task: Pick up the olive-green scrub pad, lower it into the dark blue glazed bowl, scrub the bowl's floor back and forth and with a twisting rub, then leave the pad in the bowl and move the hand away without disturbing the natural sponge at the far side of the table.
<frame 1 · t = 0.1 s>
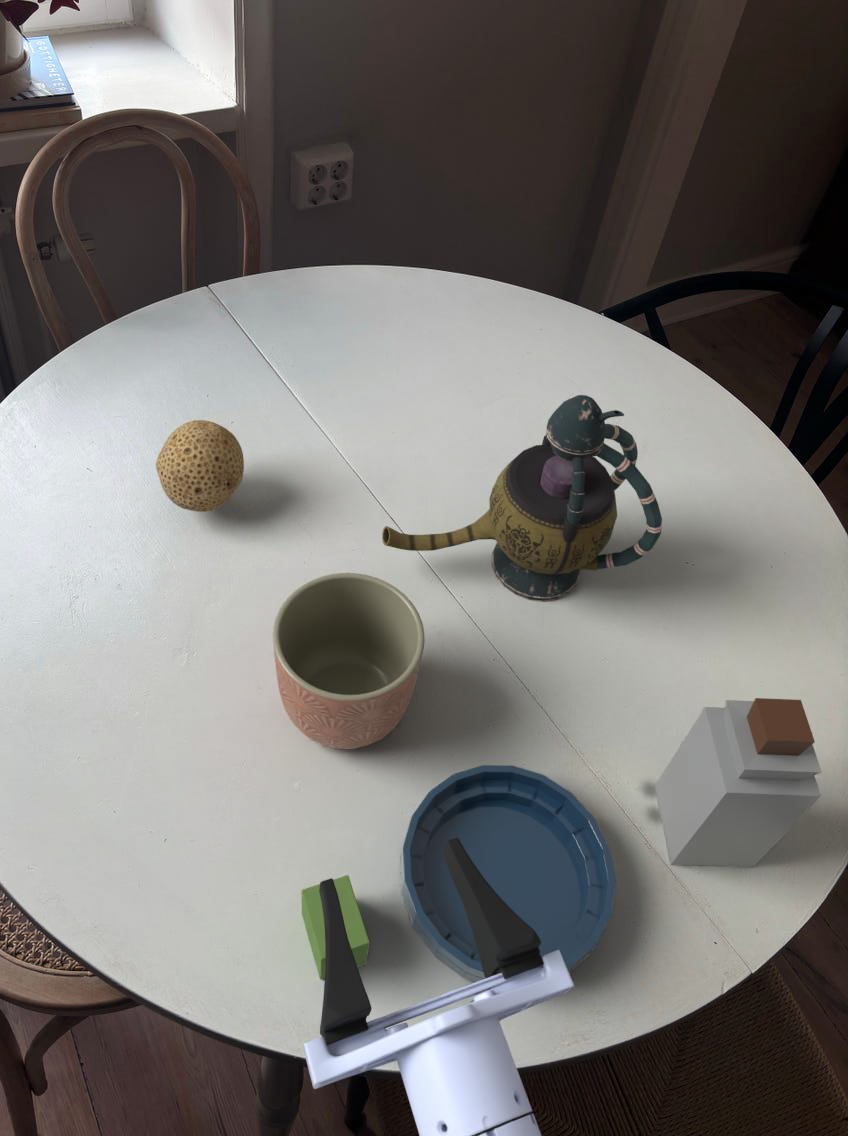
hand: (389, 863, 54), 21 cm above the table, tool horizontal, fingers open, 7 cm apart
bowl: (501, 880, 74), on the table
planter: (344, 701, 84), on the table
natural sponge: (204, 502, 100), on the table
scrub pad: (333, 937, 71), on the table
teapot: (500, 566, 96), on the table
perfume bottle: (701, 826, 78), on the table
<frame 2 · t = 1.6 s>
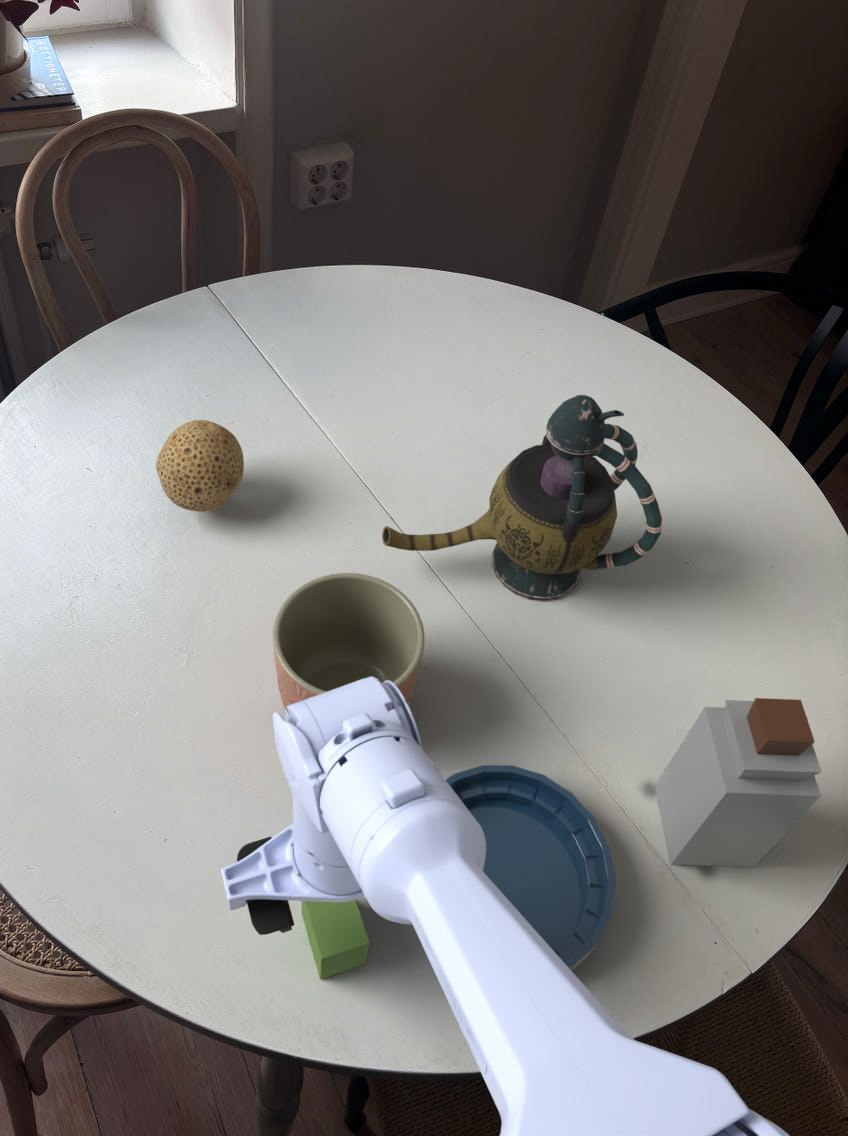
hand: (336, 899, 65), 8 cm above the table, tool pointing down, fingers open, 7 cm apart
nothing on the table moved.
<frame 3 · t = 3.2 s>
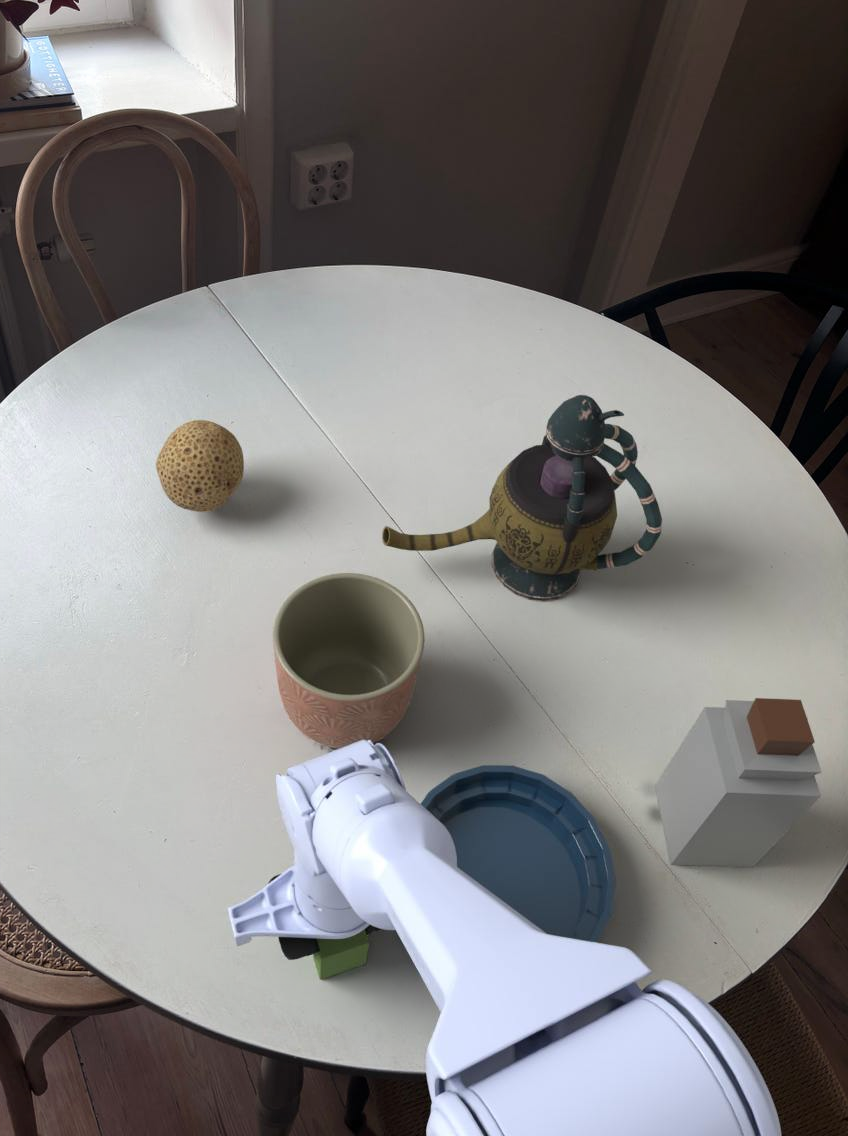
hand: (333, 931, 70), 1 cm above the table, tool pointing down, fingers closed on scrub pad, 3 cm apart
scrub pad: (333, 938, 71), on the table, touching gripper
everything else where it was.
when the fingers open (2 cm above the table, at t = 11.6 s): scrub pad stays where it is, resting on bowl.
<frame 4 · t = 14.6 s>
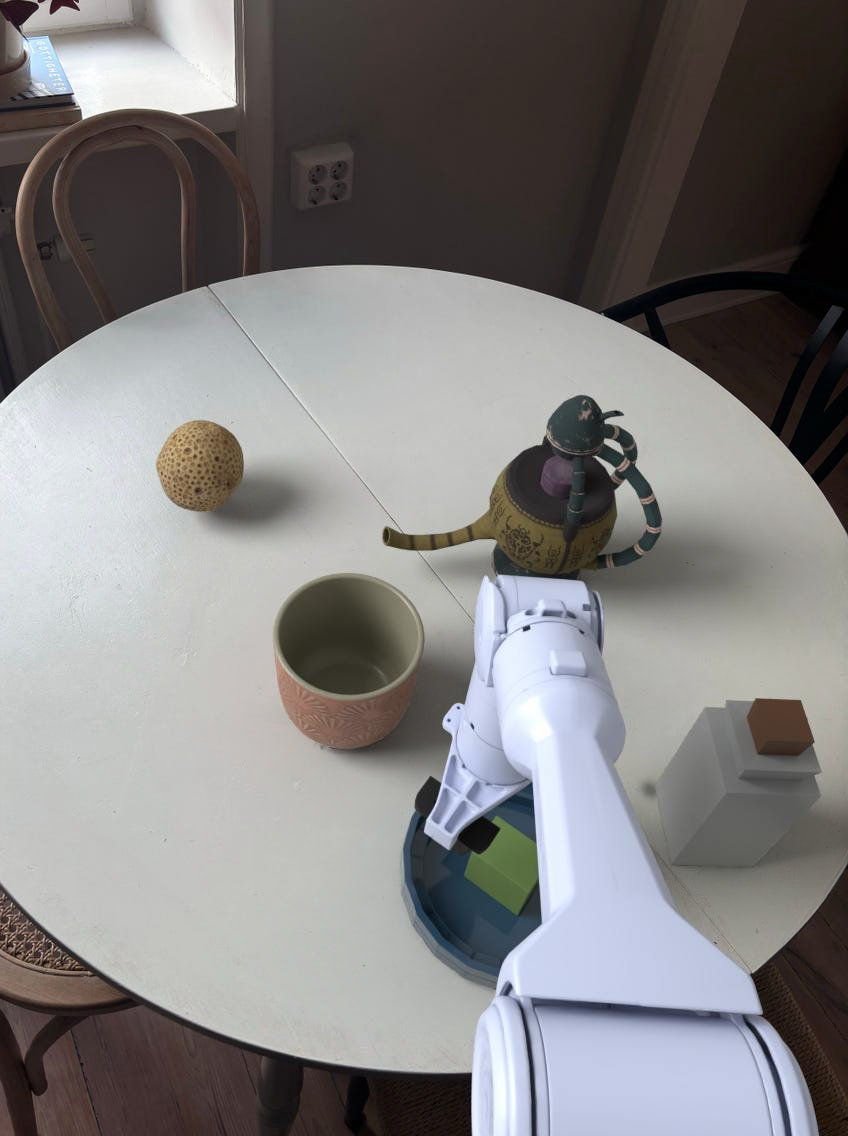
hand: (480, 803, 69), 9 cm above the table, tool pointing down, fingers open, 7 cm apart
bowl: (501, 880, 74), on the table, touching scrub pad
scrub pad: (502, 877, 74), point 1 cm above the table, touching bowl
everything else where it was.
at the end: scrub pad inside the target area in the bowl (0.0 cm from its centre), point 0.6 cm above the bowl's base; bowl moved 0.0 cm from its start; natural sponge moved 0.2 cm from its start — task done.
